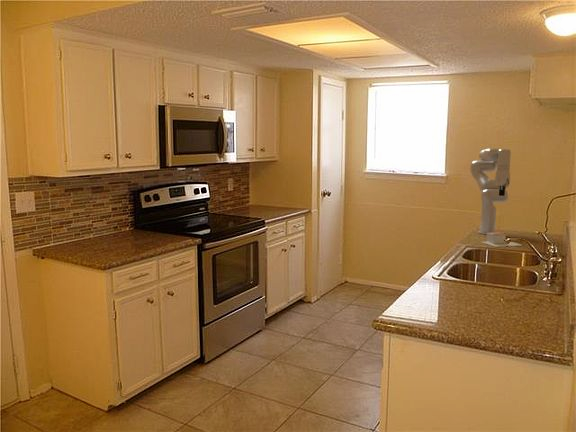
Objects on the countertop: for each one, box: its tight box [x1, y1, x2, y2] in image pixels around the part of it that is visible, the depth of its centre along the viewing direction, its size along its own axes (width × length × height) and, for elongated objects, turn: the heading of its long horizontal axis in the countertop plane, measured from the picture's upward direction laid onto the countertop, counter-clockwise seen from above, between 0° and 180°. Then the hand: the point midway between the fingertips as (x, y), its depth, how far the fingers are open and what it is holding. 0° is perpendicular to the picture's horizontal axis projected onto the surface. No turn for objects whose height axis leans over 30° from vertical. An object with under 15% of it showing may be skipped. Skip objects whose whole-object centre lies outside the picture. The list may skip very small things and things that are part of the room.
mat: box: [480, 240, 524, 248], centre depth 315 cm, size 15×19×1 cm
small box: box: [486, 231, 507, 244], centre depth 318 cm, size 8×6×10 cm
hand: (501, 195), depth 330 cm, fingers closed
